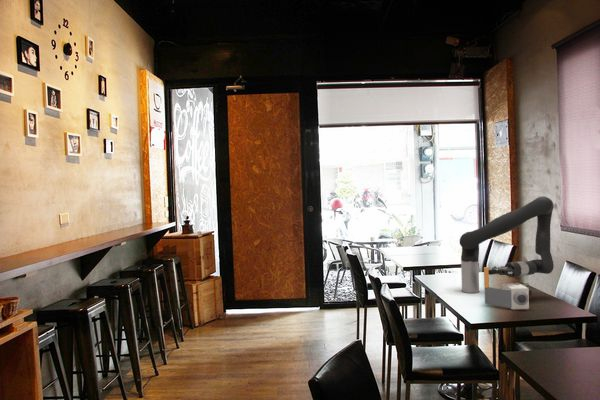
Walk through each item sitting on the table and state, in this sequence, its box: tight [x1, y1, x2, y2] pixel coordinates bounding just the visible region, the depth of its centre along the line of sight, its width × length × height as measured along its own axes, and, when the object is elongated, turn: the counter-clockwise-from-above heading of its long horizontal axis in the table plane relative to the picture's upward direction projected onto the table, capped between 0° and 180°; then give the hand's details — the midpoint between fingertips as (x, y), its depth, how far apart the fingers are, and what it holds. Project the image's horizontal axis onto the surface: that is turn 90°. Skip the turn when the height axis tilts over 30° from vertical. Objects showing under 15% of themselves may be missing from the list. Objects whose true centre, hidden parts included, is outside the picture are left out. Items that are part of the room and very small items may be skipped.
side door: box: [483, 266, 511, 309], centre depth 244 cm, size 13×1×18 cm, turn 40°
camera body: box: [502, 281, 530, 310], centre depth 244 cm, size 14×8×11 cm, turn 177°
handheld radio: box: [522, 282, 533, 294], centre depth 262 cm, size 7×3×25 cm
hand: (488, 272), depth 247 cm, fingers closed
